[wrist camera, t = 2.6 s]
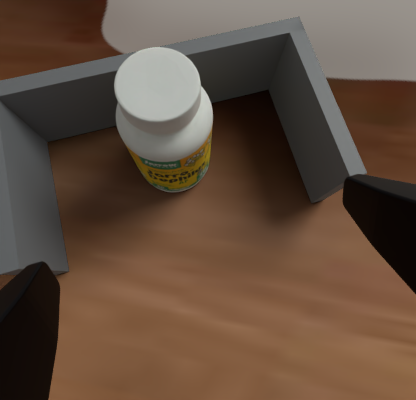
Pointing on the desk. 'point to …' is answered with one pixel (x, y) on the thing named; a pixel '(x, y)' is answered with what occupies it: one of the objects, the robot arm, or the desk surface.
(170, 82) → the supplement bottle
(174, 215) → the desk surface
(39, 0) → the desk surface
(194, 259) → the desk surface
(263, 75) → the open side box
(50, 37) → the desk surface
